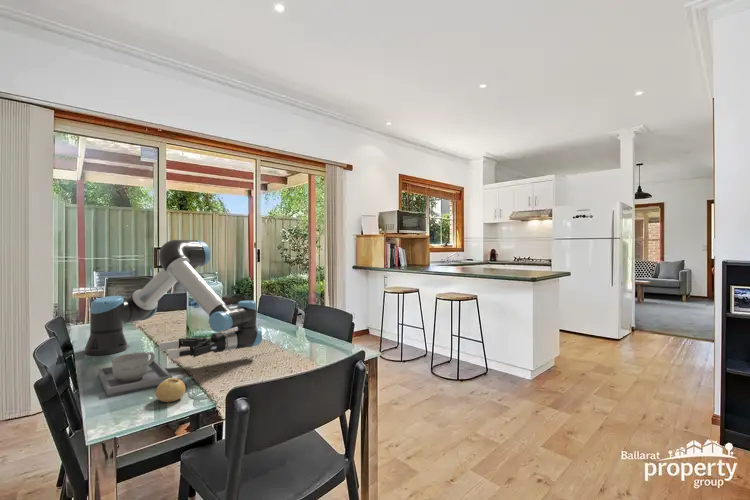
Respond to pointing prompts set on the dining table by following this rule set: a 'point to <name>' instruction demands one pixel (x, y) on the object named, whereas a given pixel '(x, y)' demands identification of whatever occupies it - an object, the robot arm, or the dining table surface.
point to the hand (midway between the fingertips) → (163, 350)
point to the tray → (149, 380)
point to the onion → (170, 390)
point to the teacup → (131, 366)
